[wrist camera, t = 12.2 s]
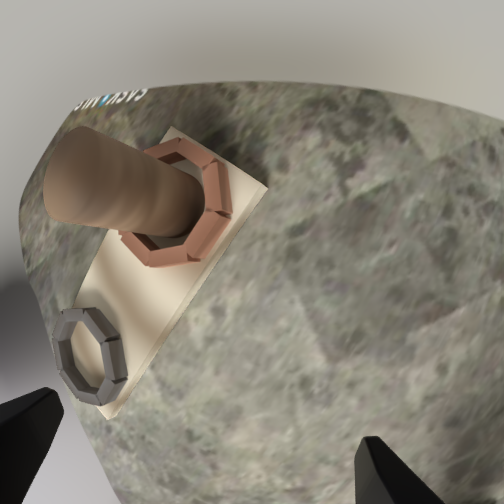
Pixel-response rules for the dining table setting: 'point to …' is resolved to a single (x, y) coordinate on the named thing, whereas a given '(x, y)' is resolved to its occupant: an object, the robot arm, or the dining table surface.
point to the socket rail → (148, 281)
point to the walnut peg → (119, 187)
